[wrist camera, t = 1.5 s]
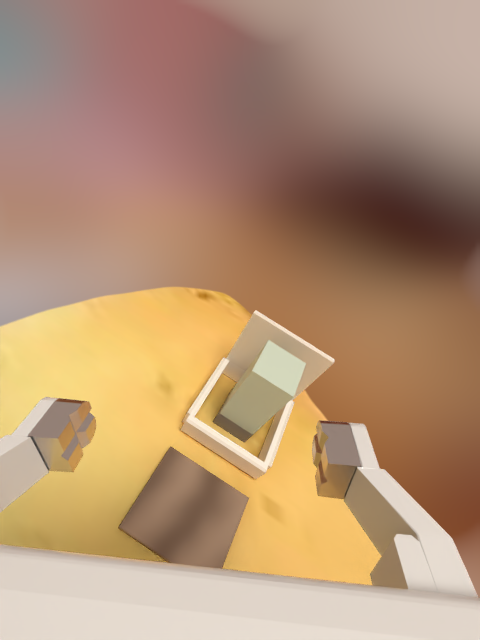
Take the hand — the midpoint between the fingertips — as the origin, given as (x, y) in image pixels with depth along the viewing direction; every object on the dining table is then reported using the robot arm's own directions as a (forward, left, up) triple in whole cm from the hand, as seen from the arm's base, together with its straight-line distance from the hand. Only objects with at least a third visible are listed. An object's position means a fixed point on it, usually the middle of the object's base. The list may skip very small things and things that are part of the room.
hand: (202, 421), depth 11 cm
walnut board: (+5, +4, -28) cm, 29 cm away
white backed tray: (+5, +17, -28) cm, 33 cm away
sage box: (+5, +17, -28) cm, 33 cm away
